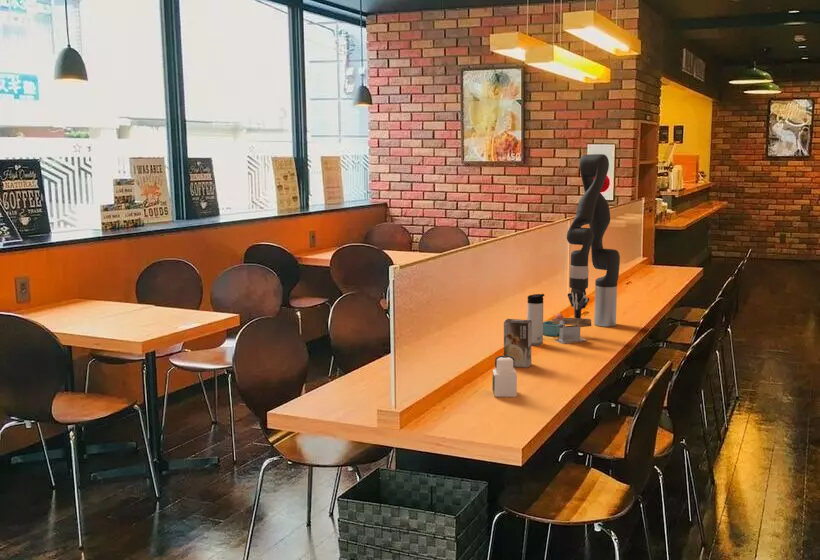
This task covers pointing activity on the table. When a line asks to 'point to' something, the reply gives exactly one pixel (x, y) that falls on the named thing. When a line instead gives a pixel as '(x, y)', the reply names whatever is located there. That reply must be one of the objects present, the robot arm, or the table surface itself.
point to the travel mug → (536, 318)
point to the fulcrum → (569, 334)
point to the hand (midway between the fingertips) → (577, 318)
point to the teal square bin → (551, 329)
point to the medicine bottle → (504, 377)
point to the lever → (574, 321)
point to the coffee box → (518, 341)
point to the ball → (559, 316)
